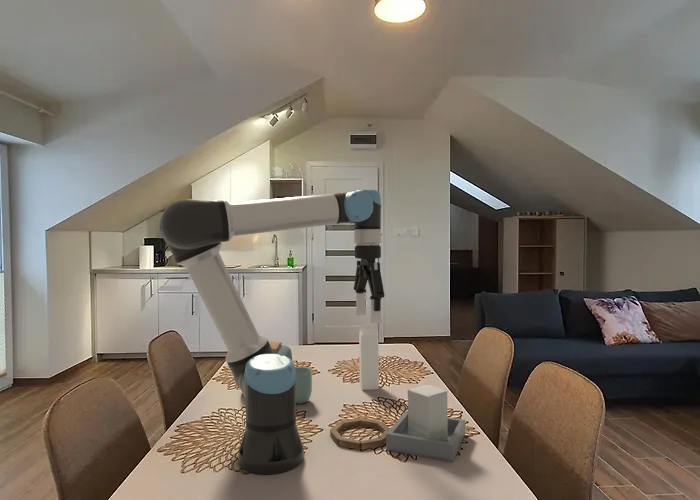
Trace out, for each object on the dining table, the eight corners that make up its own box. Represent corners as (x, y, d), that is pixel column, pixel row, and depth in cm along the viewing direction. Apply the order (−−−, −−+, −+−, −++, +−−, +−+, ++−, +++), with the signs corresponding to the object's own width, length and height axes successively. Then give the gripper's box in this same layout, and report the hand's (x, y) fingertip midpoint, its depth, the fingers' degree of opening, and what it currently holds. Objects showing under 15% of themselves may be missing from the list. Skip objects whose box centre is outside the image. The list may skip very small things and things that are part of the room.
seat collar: (377, 452, 112) (377, 446, 112) (322, 442, 118) (322, 436, 118) (396, 429, 126) (396, 423, 126) (346, 420, 132) (346, 415, 132)
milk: (378, 389, 159) (378, 325, 158) (361, 390, 158) (361, 326, 158) (376, 383, 165) (376, 322, 164) (359, 384, 165) (359, 322, 164)
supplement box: (448, 440, 117) (448, 390, 117) (428, 448, 113) (428, 396, 113) (427, 430, 123) (427, 383, 123) (407, 437, 119) (406, 388, 119)
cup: (308, 406, 143) (307, 374, 143) (284, 405, 145) (283, 373, 144) (314, 398, 151) (314, 367, 150) (292, 396, 152) (291, 366, 152)
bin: (452, 462, 107) (452, 445, 107) (386, 449, 114) (386, 433, 114) (465, 434, 122) (465, 419, 122) (405, 425, 129) (405, 410, 128)
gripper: (396, 245, 122) (396, 325, 122) (366, 244, 146) (366, 311, 146) (369, 245, 120) (369, 327, 120) (343, 244, 144) (343, 312, 144)
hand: (368, 318), depth 133 cm, fingers open, 13 cm apart
